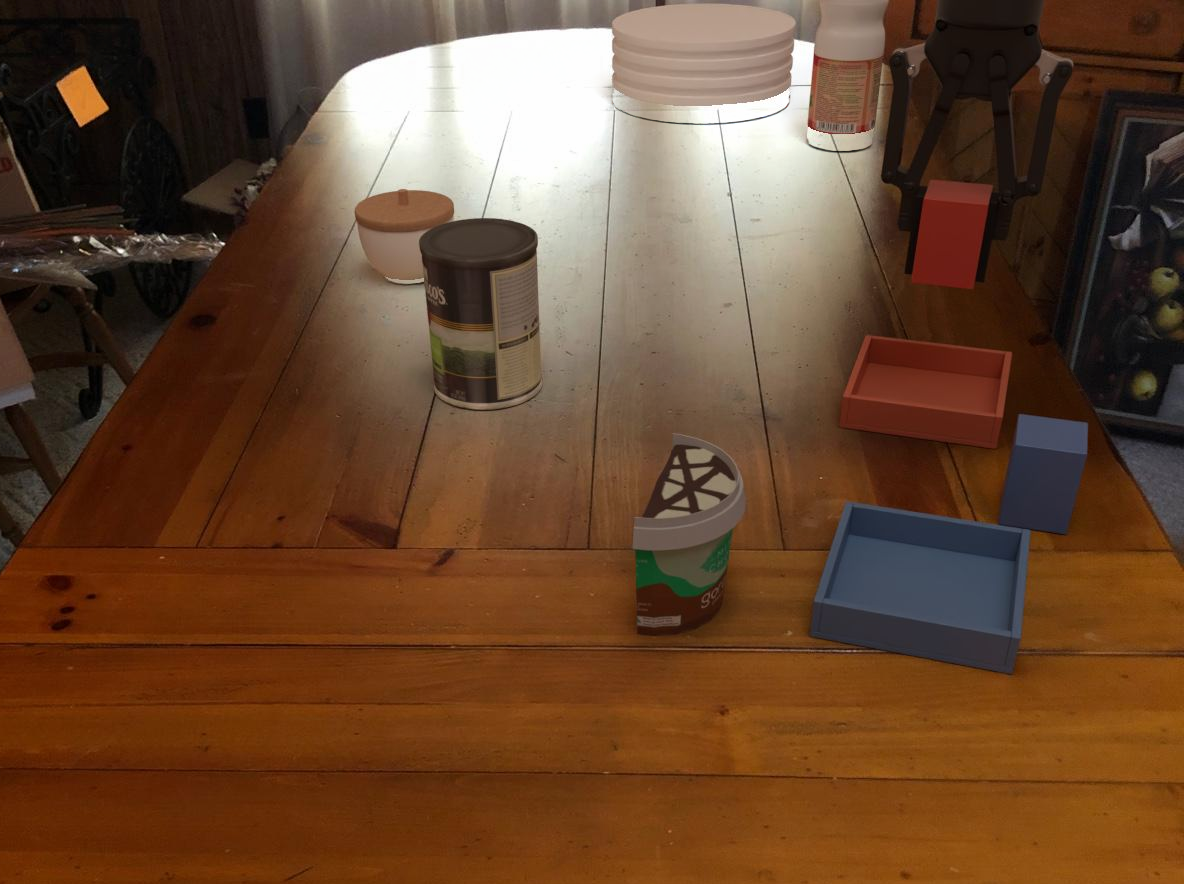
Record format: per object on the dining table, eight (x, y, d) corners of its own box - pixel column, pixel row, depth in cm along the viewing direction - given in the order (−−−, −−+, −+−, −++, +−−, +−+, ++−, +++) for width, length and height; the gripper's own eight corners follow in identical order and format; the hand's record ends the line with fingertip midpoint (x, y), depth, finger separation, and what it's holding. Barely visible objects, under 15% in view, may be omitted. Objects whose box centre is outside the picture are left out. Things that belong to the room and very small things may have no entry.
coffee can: (443, 417, 109) (428, 265, 101) (426, 369, 117) (411, 224, 109) (555, 402, 111) (549, 251, 102) (531, 355, 119) (524, 212, 111)
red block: (978, 267, 103) (993, 184, 99) (973, 289, 100) (988, 204, 95) (918, 261, 105) (930, 179, 101) (910, 282, 101) (923, 198, 97)
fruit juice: (828, 156, 168) (850, -73, 152) (793, 139, 175) (811, -82, 159) (886, 148, 171) (914, -79, 155) (849, 131, 178) (872, -87, 162)
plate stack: (824, 95, 194) (831, 17, 187) (718, 135, 178) (722, 51, 171) (685, 70, 209) (687, -4, 203) (576, 104, 193) (574, 25, 186)
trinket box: (345, 272, 137) (333, 189, 132) (425, 250, 143) (417, 168, 137) (395, 301, 130) (385, 214, 125) (478, 276, 136) (471, 191, 130)
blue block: (1068, 501, 96) (1088, 422, 92) (1066, 535, 92) (1087, 454, 88) (1001, 492, 97) (1018, 413, 93) (997, 524, 93) (1015, 444, 89)
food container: (721, 661, 81) (730, 535, 75) (631, 646, 82) (632, 521, 76) (752, 559, 90) (762, 439, 84) (671, 547, 92) (674, 429, 86)
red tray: (1006, 381, 112) (1012, 351, 111) (996, 449, 102) (1002, 417, 101) (862, 363, 116) (865, 334, 114) (838, 427, 106) (842, 396, 104)
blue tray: (1022, 564, 89) (1030, 529, 87) (1012, 674, 79) (1021, 638, 77) (841, 534, 93) (845, 500, 91) (809, 636, 83) (813, 601, 81)
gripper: (863, -34, 88) (830, 276, 102) (1130, -23, 83) (1056, 301, 97) (878, -51, 93) (844, 245, 107) (1129, -42, 89) (1059, 267, 102)
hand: (945, 271), depth 102 cm, fingers closed on red block, 5 cm apart
